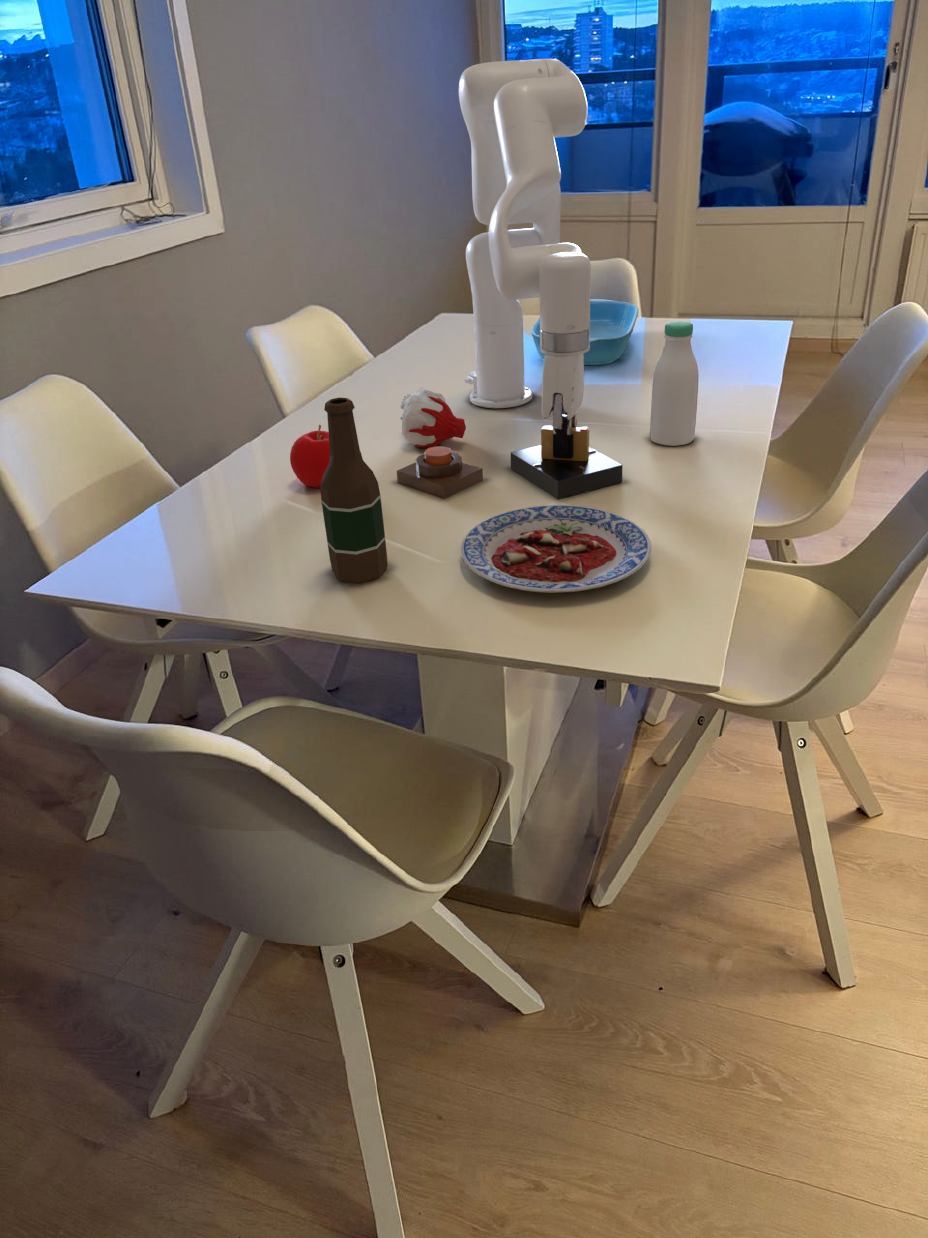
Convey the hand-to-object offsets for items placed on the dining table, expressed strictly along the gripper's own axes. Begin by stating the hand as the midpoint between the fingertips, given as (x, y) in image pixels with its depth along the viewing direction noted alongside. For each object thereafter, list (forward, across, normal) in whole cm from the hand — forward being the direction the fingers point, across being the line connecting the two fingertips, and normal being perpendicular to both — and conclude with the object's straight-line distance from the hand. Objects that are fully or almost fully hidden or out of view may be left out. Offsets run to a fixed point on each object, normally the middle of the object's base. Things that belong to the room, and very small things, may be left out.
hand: (564, 453), depth 152 cm
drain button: (0, +6, -20) cm, 20 cm away
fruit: (+4, +10, -39) cm, 41 cm away
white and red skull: (+4, -11, -27) cm, 29 cm away
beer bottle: (+4, +38, -20) cm, 43 cm away
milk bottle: (+4, -20, +15) cm, 25 cm away
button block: (+4, +6, -20) cm, 21 cm away
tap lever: (+1, 0, 0) cm, 1 cm away
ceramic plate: (+4, +29, +5) cm, 30 cm away
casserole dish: (+4, -75, -12) cm, 76 cm away
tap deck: (+4, 0, 0) cm, 4 cm away
